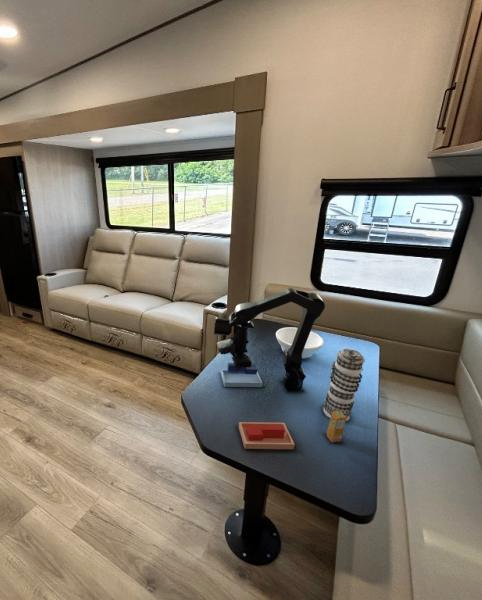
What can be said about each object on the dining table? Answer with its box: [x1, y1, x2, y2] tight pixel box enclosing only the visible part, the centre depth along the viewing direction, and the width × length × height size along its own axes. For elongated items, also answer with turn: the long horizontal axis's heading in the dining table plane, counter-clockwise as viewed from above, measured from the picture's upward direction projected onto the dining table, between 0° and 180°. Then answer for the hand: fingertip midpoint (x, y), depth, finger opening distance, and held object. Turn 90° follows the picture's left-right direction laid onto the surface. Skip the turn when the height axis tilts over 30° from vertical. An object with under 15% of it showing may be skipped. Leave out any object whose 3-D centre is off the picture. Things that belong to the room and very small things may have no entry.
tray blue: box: [220, 368, 263, 388], centre depth 131 cm, size 15×9×2 cm, turn 89°
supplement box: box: [326, 411, 347, 443], centre depth 100 cm, size 3×3×10 cm
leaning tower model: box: [322, 348, 366, 422], centre depth 108 cm, size 9×9×25 cm
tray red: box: [238, 421, 295, 450], centre depth 102 cm, size 15×9×2 cm, turn 89°
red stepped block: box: [246, 426, 285, 441], centre depth 101 cm, size 11×4×4 cm, turn 89°
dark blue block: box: [226, 362, 258, 375], centre depth 129 cm, size 11×4×4 cm, turn 89°
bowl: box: [275, 326, 325, 359], centre depth 151 cm, size 21×21×8 cm
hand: (236, 369), depth 129 cm, fingers closed on dark blue block, 2 cm apart
